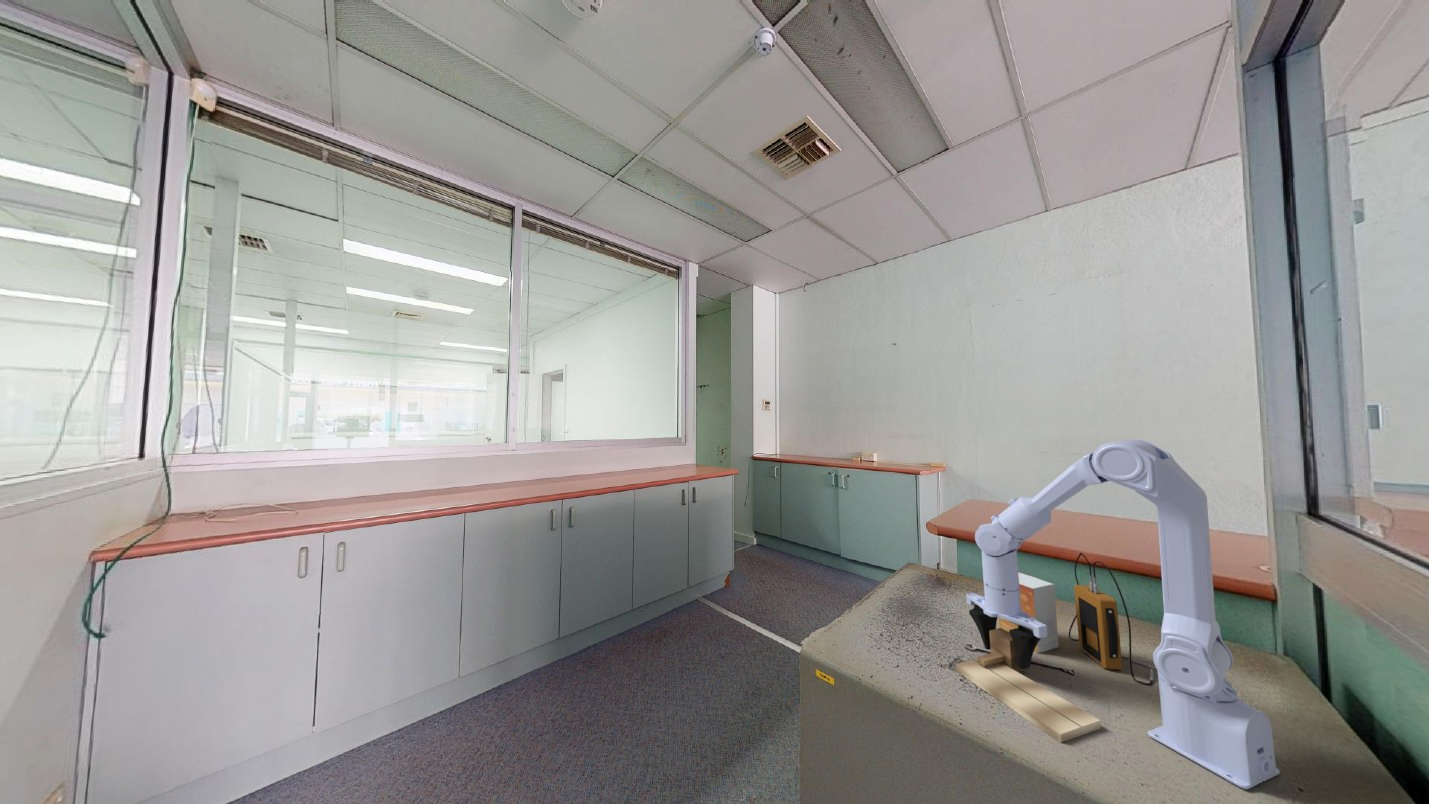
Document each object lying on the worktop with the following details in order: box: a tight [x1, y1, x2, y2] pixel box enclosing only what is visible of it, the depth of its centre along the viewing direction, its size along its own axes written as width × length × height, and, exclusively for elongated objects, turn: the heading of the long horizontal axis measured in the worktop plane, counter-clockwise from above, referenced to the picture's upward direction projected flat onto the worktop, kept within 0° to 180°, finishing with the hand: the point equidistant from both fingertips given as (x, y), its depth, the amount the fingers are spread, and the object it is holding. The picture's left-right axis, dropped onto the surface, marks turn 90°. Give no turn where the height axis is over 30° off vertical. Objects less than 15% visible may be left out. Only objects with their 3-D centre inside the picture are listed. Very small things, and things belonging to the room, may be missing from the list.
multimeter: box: [1068, 552, 1157, 686], centre depth 77 cm, size 15×10×20 cm
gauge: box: [976, 628, 1025, 673], centre depth 76 cm, size 4×8×6 cm, turn 106°
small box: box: [998, 571, 1059, 654], centre depth 85 cm, size 8×6×13 cm
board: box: [954, 658, 1102, 743], centre depth 68 cm, size 18×8×1 cm, turn 16°
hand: (1006, 657), depth 76 cm, fingers open, 6 cm apart
